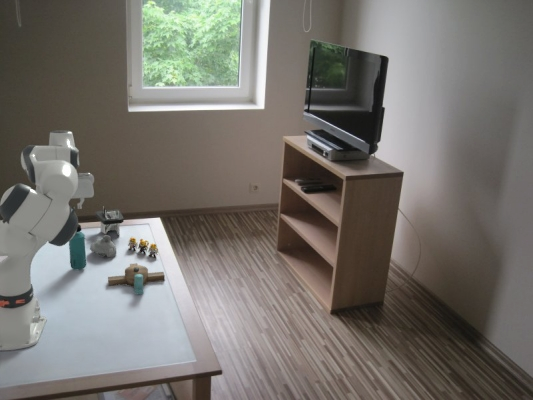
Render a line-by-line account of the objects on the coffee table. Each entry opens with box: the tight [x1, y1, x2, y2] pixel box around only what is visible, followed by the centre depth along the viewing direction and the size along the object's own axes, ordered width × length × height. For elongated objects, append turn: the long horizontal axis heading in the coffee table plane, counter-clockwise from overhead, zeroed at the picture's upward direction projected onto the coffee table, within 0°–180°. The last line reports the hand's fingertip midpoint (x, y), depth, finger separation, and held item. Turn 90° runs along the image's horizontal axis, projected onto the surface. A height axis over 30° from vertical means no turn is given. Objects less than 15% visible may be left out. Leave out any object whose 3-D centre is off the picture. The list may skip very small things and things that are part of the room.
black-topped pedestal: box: [95, 206, 125, 238], centre depth 271 cm, size 28×26×13 cm
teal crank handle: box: [133, 274, 144, 295], centre depth 224 cm, size 6×3×7 cm, turn 18°
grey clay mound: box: [89, 234, 117, 258], centre depth 251 cm, size 12×12×11 cm
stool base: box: [107, 262, 165, 288], centre depth 234 cm, size 16×22×6 cm
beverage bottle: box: [68, 223, 87, 271], centre depth 235 cm, size 6×7×20 cm
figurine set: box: [127, 237, 159, 259], centre depth 256 cm, size 3×16×7 cm, turn 63°
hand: (66, 209), depth 213 cm, fingers open, 8 cm apart
